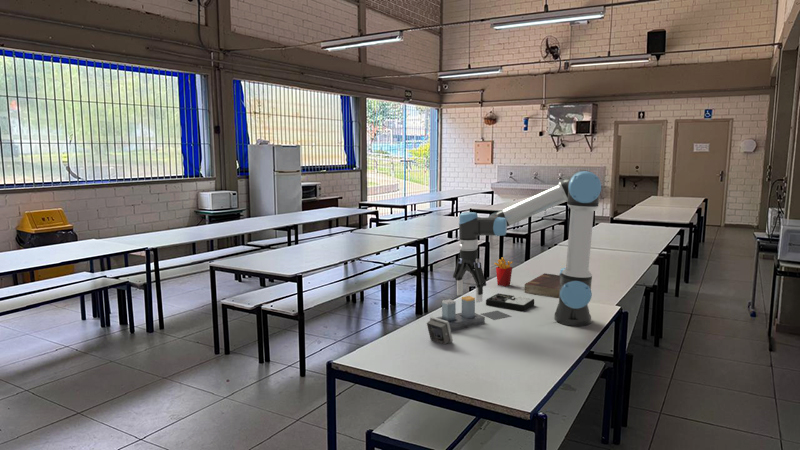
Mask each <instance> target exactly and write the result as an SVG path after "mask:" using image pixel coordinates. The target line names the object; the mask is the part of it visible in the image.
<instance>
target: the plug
mask: <svg viewBox="0 0 800 450" xmlns="http://www.w3.org/2000/svg"><path fill="white" fill-rule="evenodd" d="M461 313H462V317H464V318H472V317H475V313H476V297H474V296H470V295H466V296H461Z"/></svg>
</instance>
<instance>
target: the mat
mask: <svg viewBox="0 0 800 450" xmlns="http://www.w3.org/2000/svg"><path fill="white" fill-rule="evenodd" d="M480 315H481V316H484V317H485V318H488V319H491V320H493V321H496V320H501V319H507V318H512V315H510V314H508V313H505V312H502V311H499V310H493V311H489V312H487V311H486V312H484V313H480Z"/></svg>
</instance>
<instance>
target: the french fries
mask: <svg viewBox="0 0 800 450" xmlns="http://www.w3.org/2000/svg"><path fill="white" fill-rule="evenodd" d="M496 261H497V262H498V263H497V262H494V265H495V266H497V267H495V270H496V271H495V272H496V282H497V286H498V287H499V286H501V287H509V286H511V283H512V282H511V279H512V273H513V267H512V266H511V264H513V263H514V262H513V261H509V260H508V261H507V262H506V259H505V258H504V257H501V258H499V259H498V260H496ZM506 263H507V264H506Z"/></svg>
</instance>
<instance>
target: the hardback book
mask: <svg viewBox="0 0 800 450" xmlns="http://www.w3.org/2000/svg"><path fill="white" fill-rule="evenodd" d="M559 288H560V275H559V274H551V273H546V272H545V273H542V274H540V275H538V276H537V277H535V278H534V279H532V280H530V281H527V282H526V283H525V284H524V293H526V294H531V295H538V296H544V297H545V296H546V297H552V298H558V299H559Z"/></svg>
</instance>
